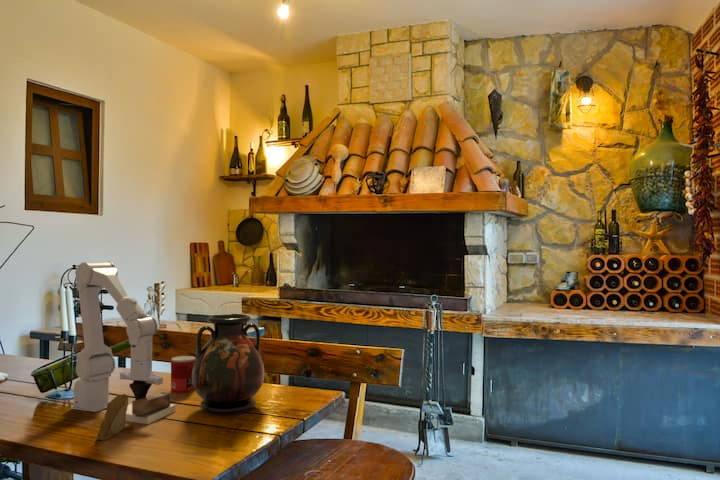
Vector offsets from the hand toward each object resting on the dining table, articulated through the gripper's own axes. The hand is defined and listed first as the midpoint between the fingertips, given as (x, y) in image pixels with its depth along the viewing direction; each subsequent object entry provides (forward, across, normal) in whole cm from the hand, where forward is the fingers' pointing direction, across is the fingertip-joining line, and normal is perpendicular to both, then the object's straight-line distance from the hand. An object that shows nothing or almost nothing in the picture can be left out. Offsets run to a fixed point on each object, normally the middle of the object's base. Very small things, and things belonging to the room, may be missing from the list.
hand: (140, 407), depth 155 cm
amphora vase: (+3, -17, -18) cm, 25 cm away
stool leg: (+1, -2, -2) cm, 3 cm away
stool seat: (+3, +1, -2) cm, 4 cm away
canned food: (+3, +10, -28) cm, 29 cm away
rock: (+3, -2, +13) cm, 13 cm away
